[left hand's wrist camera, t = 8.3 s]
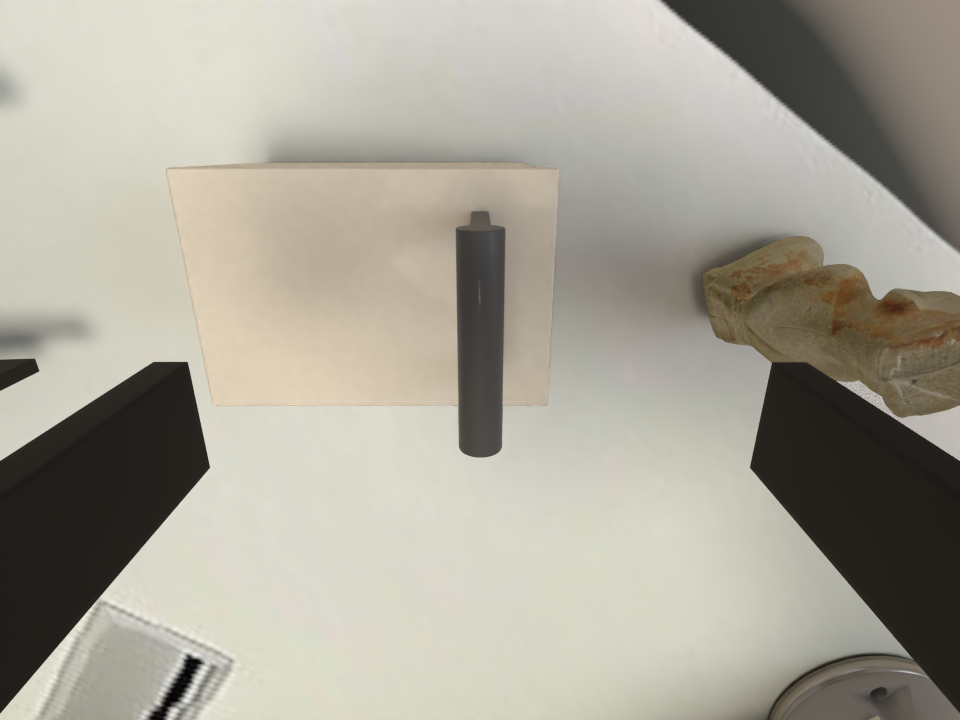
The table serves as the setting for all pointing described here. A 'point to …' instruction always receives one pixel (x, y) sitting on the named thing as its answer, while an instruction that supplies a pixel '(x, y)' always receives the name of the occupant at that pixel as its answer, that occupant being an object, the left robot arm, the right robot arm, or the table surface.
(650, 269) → the table surface
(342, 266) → the lid
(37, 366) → the right robot arm
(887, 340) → the sculpture
